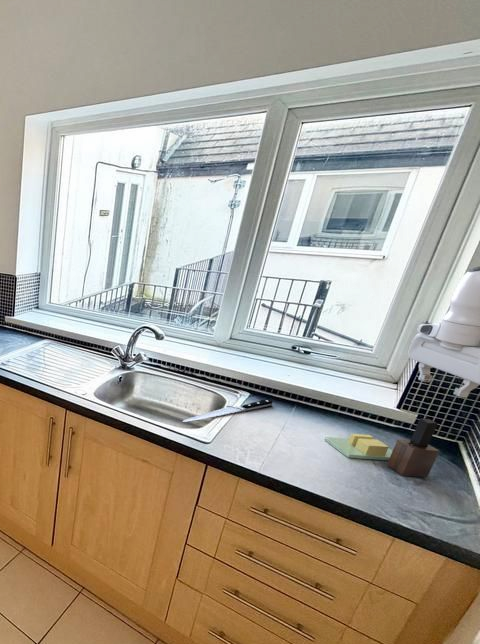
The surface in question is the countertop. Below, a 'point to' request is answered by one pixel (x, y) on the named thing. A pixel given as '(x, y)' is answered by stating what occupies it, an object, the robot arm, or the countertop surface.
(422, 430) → the knife
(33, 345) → the countertop surface
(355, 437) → the butter slice
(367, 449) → the butter block
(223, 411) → the steak knife
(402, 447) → the knife block
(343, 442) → the butter dish
